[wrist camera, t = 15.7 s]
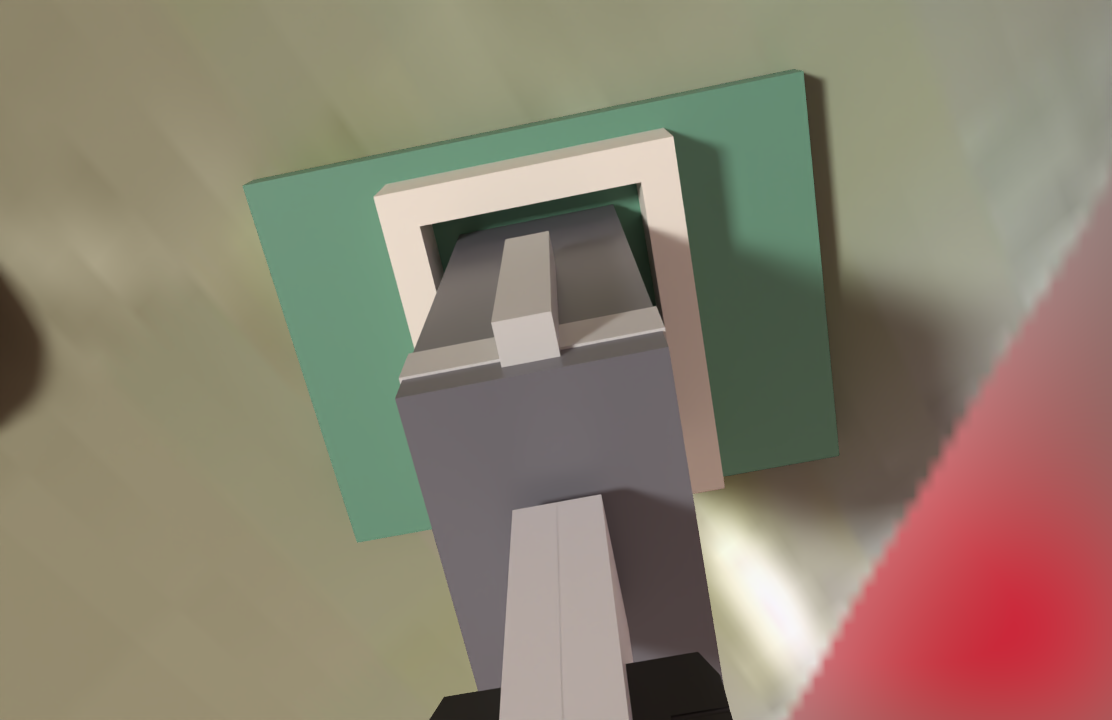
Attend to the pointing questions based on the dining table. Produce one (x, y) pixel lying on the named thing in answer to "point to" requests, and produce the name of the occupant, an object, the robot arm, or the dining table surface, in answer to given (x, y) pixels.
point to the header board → (553, 189)
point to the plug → (554, 426)
